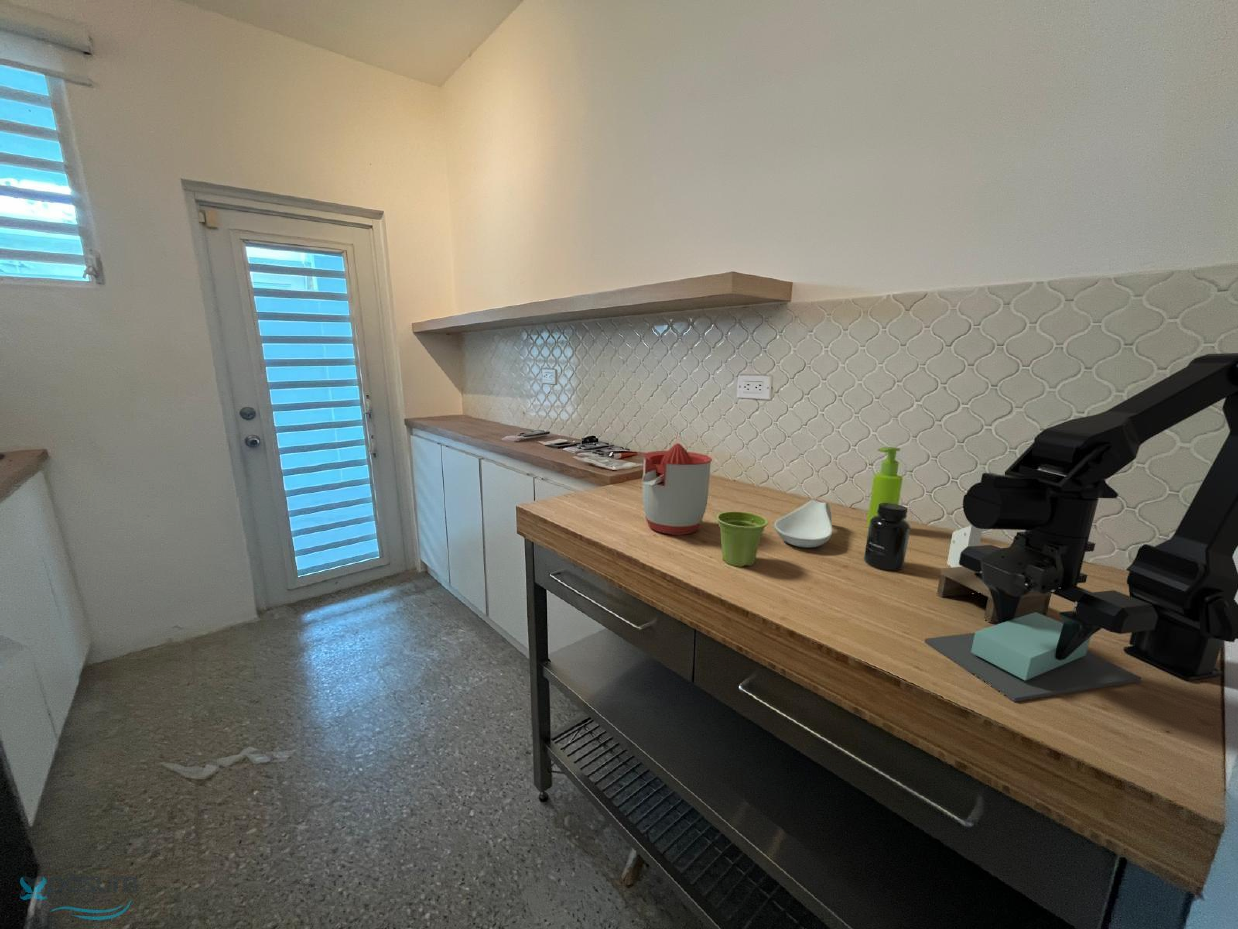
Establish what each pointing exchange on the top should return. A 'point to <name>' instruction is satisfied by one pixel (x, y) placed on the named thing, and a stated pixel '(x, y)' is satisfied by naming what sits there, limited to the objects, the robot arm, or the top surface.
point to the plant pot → (740, 536)
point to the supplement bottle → (887, 538)
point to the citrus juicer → (675, 489)
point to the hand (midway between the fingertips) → (1030, 643)
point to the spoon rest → (806, 525)
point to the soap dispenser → (885, 483)
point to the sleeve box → (987, 593)
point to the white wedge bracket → (962, 543)
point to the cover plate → (1024, 645)
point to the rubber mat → (1053, 682)
